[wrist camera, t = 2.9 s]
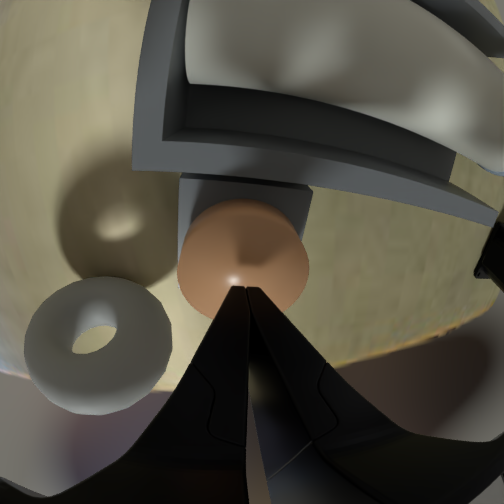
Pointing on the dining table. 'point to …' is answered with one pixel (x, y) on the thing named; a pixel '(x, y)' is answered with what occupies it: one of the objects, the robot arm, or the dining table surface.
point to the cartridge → (356, 64)
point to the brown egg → (241, 255)
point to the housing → (287, 133)
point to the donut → (105, 359)
